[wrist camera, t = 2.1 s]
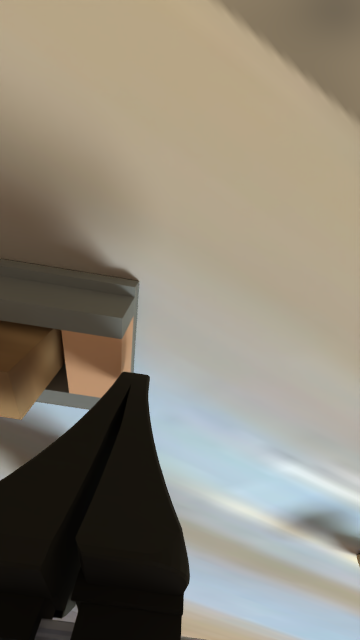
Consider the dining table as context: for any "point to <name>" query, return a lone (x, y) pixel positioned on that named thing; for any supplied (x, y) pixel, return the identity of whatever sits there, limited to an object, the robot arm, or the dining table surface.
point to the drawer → (26, 365)
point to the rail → (75, 325)
